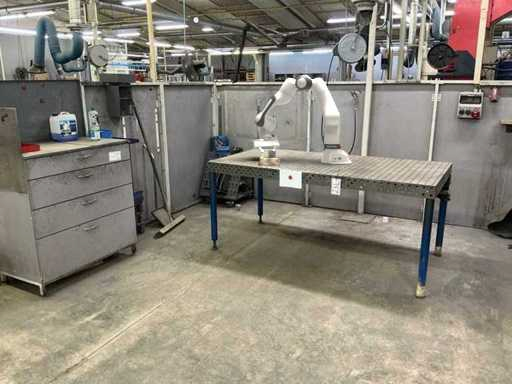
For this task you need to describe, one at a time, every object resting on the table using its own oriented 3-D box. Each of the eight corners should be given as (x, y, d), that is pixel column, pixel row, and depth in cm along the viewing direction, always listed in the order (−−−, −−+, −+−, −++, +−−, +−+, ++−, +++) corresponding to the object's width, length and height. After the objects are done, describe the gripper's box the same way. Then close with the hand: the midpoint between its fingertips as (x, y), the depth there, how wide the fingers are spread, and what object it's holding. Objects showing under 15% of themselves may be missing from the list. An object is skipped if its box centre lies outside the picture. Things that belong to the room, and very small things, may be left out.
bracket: (274, 162, 295) (274, 150, 293) (277, 164, 288) (277, 151, 286) (268, 162, 294) (268, 150, 292) (270, 164, 287) (271, 151, 285)
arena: (279, 162, 296) (280, 155, 295) (279, 165, 283) (279, 158, 281) (261, 162, 297) (261, 155, 296) (259, 165, 284) (259, 158, 283)
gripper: (252, 135, 302) (255, 150, 295) (278, 135, 307) (281, 149, 300) (251, 140, 307) (254, 155, 300) (276, 140, 312) (280, 154, 305)
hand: (268, 152), depth 300 cm, fingers open, 8 cm apart
